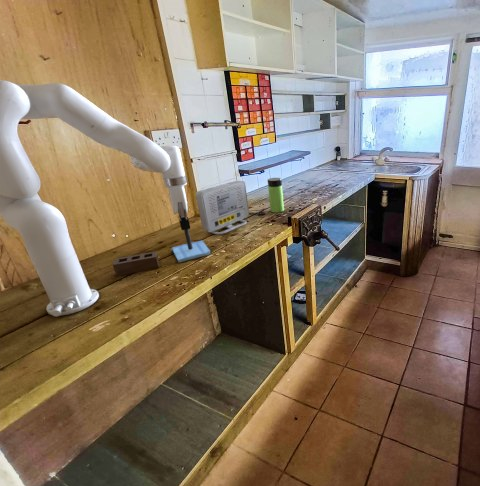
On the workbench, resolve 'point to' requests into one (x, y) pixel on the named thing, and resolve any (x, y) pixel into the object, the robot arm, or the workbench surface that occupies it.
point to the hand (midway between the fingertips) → (185, 228)
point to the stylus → (188, 239)
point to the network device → (223, 206)
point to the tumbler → (275, 195)
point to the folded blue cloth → (191, 251)
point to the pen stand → (136, 263)
